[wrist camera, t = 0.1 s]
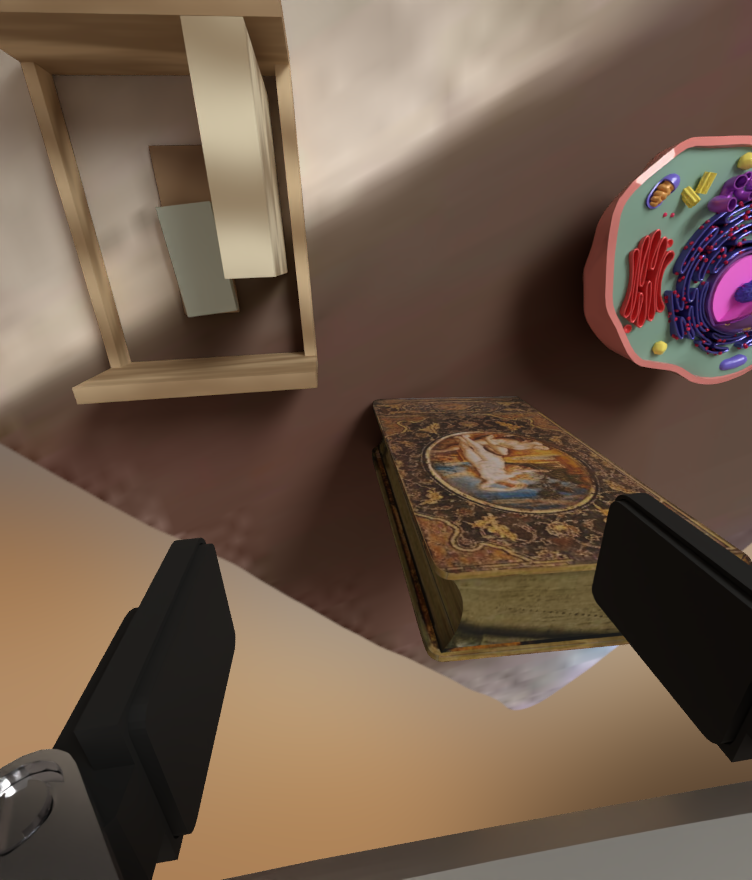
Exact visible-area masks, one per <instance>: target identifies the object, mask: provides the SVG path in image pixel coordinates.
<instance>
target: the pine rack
mask: <svg viewBox="0 0 752 880" xmlns="http://www.w3.org/2000/svg"><path fill="white" fill-rule="evenodd" d="M180 16H235V17H243V19H244V22H245V25H246V28H247V31H248V34H249V38H250V41H251V44H252V47H253V50H254V53H255V56H256V60H257V63H258V66H259V69H260V72H261V75H262V76H276V85H277V95H278V104H279V114H280V123H281V133H282V142H283V152H284V161H285V171H286V180H287V190H288V199H289V209H290V218H291V228H292V237H293V247H294V256H295V266H296V275H297V285H298V294H299V304H300V313H301V323H302V332H303V342H304V351H305V352H291V353H274V354H258V355H241V356H224V357H208V358H191V359H175V360H158V361H142V362H131V360H130V356H129V352H128V349H127V345H126V342H125V338H124V334H123V331H122V327H121V323H120V320H119V316H118V313H117V309H116V305H115V302H114V298H113V294H112V291H111V287H110V284H109V280H108V276H107V273H106V269H105V265H104V262H103V258H102V255H101V251H100V247H99V244H98V240H97V236H96V233H95V229H94V226H93V222H92V218H91V215H90V211H89V207H88V204H87V200H86V197H85V193H84V189H83V186H82V182H81V178H80V175H79V171H78V168H77V164H76V160H75V157H74V153H73V149H72V146H71V142H70V139H69V135H68V131H67V128H66V124H65V120H64V117H63V113H62V110H61V106H60V102H59V99H58V95H57V91H56V88H55V84H54V81H53V77H52V75H190V71H189V65H188V59H187V54H186V48H185V42H184V36H183V30H182V24H181V18H180ZM0 49H1V50H3V51H4V52H6V53H7V54H9V55H10V56H12V57H13V58H15V59H16V60H18V61H19V62H20V63H21V66H22V70H23V73H24V76H25V80H26V83H27V86H28V90H29V93H30V97H31V100H32V103H33V107H34V110H35V113H36V117H37V120H38V123H39V127H40V130H41V134H42V137H43V140H44V144H45V147H46V150H47V154H48V157H49V160H50V164H51V167H52V171H53V174H54V177H55V181H56V184H57V187H58V191H59V194H60V197H61V201H62V204H63V208H64V211H65V214H66V218H67V221H68V224H69V228H70V231H71V234H72V238H73V241H74V245H75V248H76V251H77V255H78V258H79V261H80V265H81V268H82V271H83V275H84V278H85V282H86V285H87V288H88V292H89V295H90V298H91V302H92V305H93V308H94V312H95V315H96V319H97V322H98V325H99V329H100V332H101V335H102V339H103V342H104V345H105V349H106V352H107V356H108V359H109V362H110V366H111V368H110V369H108V370H106V371H104V372H103V373H101V374H99V375H97V376H95V377H93V378H91V379H89V380H87V381H85V382H83V383H81V384H79V385H77V386H75V387H73V388H72V389H73V392H74V395H75V398H76V401H77V404H88V403H103V402H117V401H132V400H146V399H161V398H175V397H190V396H204V395H219V394H233V393H248V392H262V391H277V390H291V389H306V388H317V379H318V360H317V349H316V338H315V328H314V317H313V306H312V295H311V285H310V274H309V263H308V253H307V242H306V231H305V220H304V210H303V199H302V188H301V178H300V167H299V156H298V146H297V135H296V124H295V113H294V103H293V92H292V81H291V71H290V60H289V51H288V45H287V38H286V32H285V25H284V18H283V12H282V5H281V0H0Z"/></svg>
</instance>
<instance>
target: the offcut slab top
mask: <svg viewBox="0 0 752 880" xmlns="http://www.w3.org/2000/svg"><path fill="white" fill-rule="evenodd" d="M155 208H156V211H157V214H158V218H159V221H160V224H161V228H162V231H163V234H164V238H165V241H166V245H167V248H168V251H169V255H170V258H171V261H172V265H173V268H174V271H175V275H176V278H177V281H178V285H179V288H180V292H181V295H182V298H183V302H184V305H185V308H186V312H187V315H188V317H194V316H201V315H209V314H216V313H223V312H230V311H237V310H239V305H238V301H237V297H236V293H235V289H234V285H233V281H232V279H225V277H224V271H223V265H222V259H221V253H220V247H219V241H218V236H217V230H216V224H215V218H214V212H213V206H212V202H211V201H206V202H197V203H189V204H180V205H172V206H164V207H155Z"/></svg>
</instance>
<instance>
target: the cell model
mask: <svg viewBox="0 0 752 880" xmlns="http://www.w3.org/2000/svg"><path fill="white" fill-rule="evenodd" d="M583 293H584V304H583V309H584V314H585V317H586V320H587V323H588V324H589V326H590V328H591V330H592V331H593V333H594V334H595V335H596V336H597V338H598V339H599V340H600V341H601V342H602V343H603V344H604V345H605V346H606V347H607V348H608V349H610V350H611V351H613V352H614V353H616V354H618V355H620V356H622V357H624V358H626V359H628V360H630V361H632V362H634V363H636V364H638V365H639V366H642V367H648V368H655V369H663V370H667V371H670V372H672V373H675V374H677V375H679V376H681V377H683V378H685V379H687V380H689V381H691V382H695V383H699V384H717V383H721V382H725V381H728V380H731V379H733V378H736V377H738V376H741V375H743V374H744V373H746V372H748V371H749V370H751V369H752V136H717V137H692V138H690V139H687V140H685V141H683V142H680V143H678V144H675V145H673V146H671V147H669V148H667V149H665V150H663V151H661V152H659V153H658V154H657V155H656V156H655V157H654V158H653V159H651V160H650V161H649V163H648V164H647V165H646V167H645V168H644V170H643V171H642V173H641V174H639V175H638V176H637V177H636V178H635V179H634V180H633V181H632V182H631V183H629V184H628V185H627V186H626V187H625V188H624V189H623V190H622V191H621V192H620V193H619V194H618V195H617V196H616V197H615V199H614V200H613V201H612V202H611V203H610V204H609V206H608V207H607V208H606V210H605V211H604V212H603V214H602V216H601V218H600V220H599V222H598V224H597V227H596V231H595V235H594V239H593V243H592V247H591V249H590V252H589V255H588V258H587V260H586V263H585V266H584V271H583Z"/></svg>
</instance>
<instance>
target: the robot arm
mask: <svg viewBox="0 0 752 880" xmlns="http://www.w3.org/2000/svg"><path fill="white" fill-rule="evenodd" d="M592 594H593V597H594V600H595V601H596V603H597V604H598V605H599V607H600V608H601V609H602V610H603V612H604V613H605V614H606V615H607V617H608V618H609V619H610V620H611V622H612V623H613V624H614V625H615V626H616V628H617V629H618V630H619V631H620V633H621V634H622V635H623V636H624V638H625V639H626V640H627V641H628V642H629V644H630V645H631V646H632V647H633V649H634V650H635V651H636V652H637V654H638V655H639V656H640V657H641V659H642V660H643V661H644V662H645V663H646V665H647V666H648V667H649V668H650V670H651V671H652V672H653V673H654V675H655V676H656V677H657V678H658V679H659V680H660V682H661V683H662V684H663V686H664V687H665V688H666V689H667V691H668V692H669V693H670V694H671V696H672V697H673V698H674V699H675V700H676V702H677V703H678V704H679V705H680V707H681V708H682V709H683V710H684V712H685V713H686V714H687V715H688V717H689V718H690V719H691V720H692V721H693V723H694V724H695V725H696V726H697V728H698V729H699V730H700V731H701V733H702V734H703V735H704V736H705V737H706V738H707V739H708V740H709V741H711V742H712V743H715V744H717V745H718V746H719V747H720V749H721V750H722V751H723V752H724V753H725V755H726V756H727V757H728V758H729V759H730V761H731V762H736V761H742V760H748V759H752V567H751V566H750V565H748V564H747V563H746V562H744V561H743V560H741V559H740V558H739V557H737V556H736V555H734V554H733V553H731V552H730V551H729V550H727V549H726V548H724V547H723V546H722V545H720V544H719V543H717V542H716V541H715V540H713V539H712V538H710V537H709V536H707V535H706V534H705V533H703V532H702V531H700V530H699V529H698V528H696V527H695V526H693V525H692V524H690V523H689V522H688V521H686V520H685V519H683V518H682V517H681V516H679V515H678V514H676V513H675V512H673V511H672V510H671V509H669V508H668V507H666V506H665V505H664V504H662V503H661V502H659V501H658V500H656V499H655V498H654V497H652V496H651V495H649V494H647V493H642V492H641V493H632V494H622V495H619V496H618V497H617V498H616V499H615V501H614V502H612V503H611V504H610V507H609V511H608V515H607V520H606V524H605V529H604V533H603V538H602V543H601V547H600V552H599V556H598V561H597V565H596V570H595V574H594V579H593V583H592ZM234 650H235V631H234V626H233V622H232V618H231V614H230V610H229V606H228V601H227V597H226V593H225V589H224V584H223V580H222V576H221V572H220V568H219V564H218V559H217V555H216V551H215V547H214V545H213V544H206V542H205V540H204V539H203V538H195V539H185V540H176V541H174V542H173V544H172V545H171V547H170V549H169V551H168V553H167V554H166V556H165V558H164V560H163V562H162V564H161V566H160V568H159V570H158V572H157V573H156V575H155V577H154V579H153V581H152V583H151V585H150V587H149V588H148V590H147V592H146V594H145V596H144V598H143V600H142V602H141V604H140V606H139V607H138V608H134V609H132V610H131V611H129V612H128V614H127V615H126V617H125V618H124V620H123V622H122V624H121V625H120V627H119V629H118V631H117V632H116V634H115V636H114V638H113V640H112V641H111V644H110V646H109V647H108V649H107V651H106V652H105V655H104V656H103V658H102V660H101V661H100V663H99V665H98V667H97V669H96V671H95V672H94V674H93V676H92V678H91V680H90V681H89V683H88V685H87V687H86V689H85V690H84V692H83V694H82V696H81V698H80V700H79V701H78V703H77V705H76V707H75V709H74V710H73V712H72V714H71V716H70V718H69V720H68V721H67V723H66V725H65V727H64V729H63V730H62V732H61V734H60V736H59V738H58V740H57V741H56V743H55V745H54V747H53V749H48V750H47V749H46V750H39V751H36V752H34V753H30V754H27V755H24V756H22V757H20V758H18V759H16V760H15V761H13V762H11V763H9V764H8V765H6V766H4V767H2V768H1V769H0V880H152V876H153V873H154V869H155V866H156V863H160V862H166V861H172V860H177V859H178V855H179V851H180V848H181V843H182V839H183V835H186V834H190V833H192V831H193V830H194V827H195V824H196V820H197V817H198V812H199V808H200V803H201V799H202V794H203V790H204V784H205V781H206V776H207V771H208V767H209V762H210V758H211V753H212V749H213V744H214V740H215V735H216V731H217V726H218V722H219V717H220V713H221V708H222V704H223V699H224V695H225V690H226V686H227V681H228V677H229V672H230V668H231V663H232V659H233V654H234ZM223 880H752V781H747V782H742V783H736V784H730V785H724V786H718V787H714V788H707V789H701V790H696V791H690V792H684V793H678V794H673V795H667V796H661V797H656V798H651V799H645V800H639V801H634V802H628V803H623V804H617V805H611V806H606V807H600V808H595V809H589V810H584V811H578V812H572V813H567V814H561V815H556V816H550V817H545V818H540V819H534V820H529V821H523V822H518V823H512V824H506V825H501V826H495V827H490V828H484V829H479V830H474V831H469V832H463V833H458V834H452V835H447V836H442V837H436V838H431V839H426V840H420V841H415V842H410V843H404V844H400V845H394V846H388V847H384V848H378V849H372V850H367V851H362V852H356V853H351V854H346V855H340V856H335V857H330V858H325V859H319V860H314V861H310V862H305V863H300V864H295V865H290V866H286V867H281V868H276V869H271V870H267V871H262V872H257V873H252V874H248V875H242V876H238V877H234V878H228V879H223Z"/></svg>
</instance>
